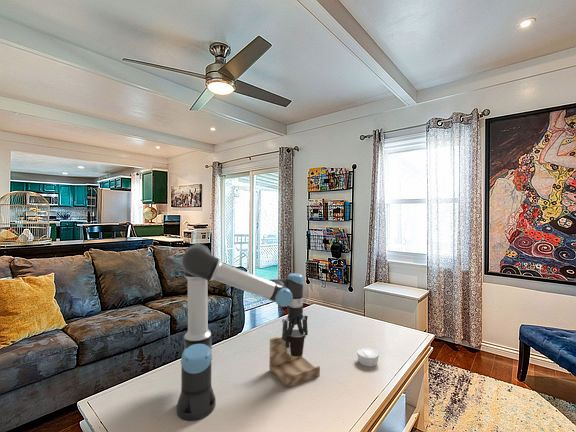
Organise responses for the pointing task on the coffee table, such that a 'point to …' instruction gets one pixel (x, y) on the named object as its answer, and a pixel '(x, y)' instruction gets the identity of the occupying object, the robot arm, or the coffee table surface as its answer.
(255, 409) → the coffee table surface
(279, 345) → the light brown blocky piece
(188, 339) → the robot arm
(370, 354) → the ramekin
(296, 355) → the coffee mug
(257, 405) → the coffee table surface
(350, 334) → the coffee table surface
